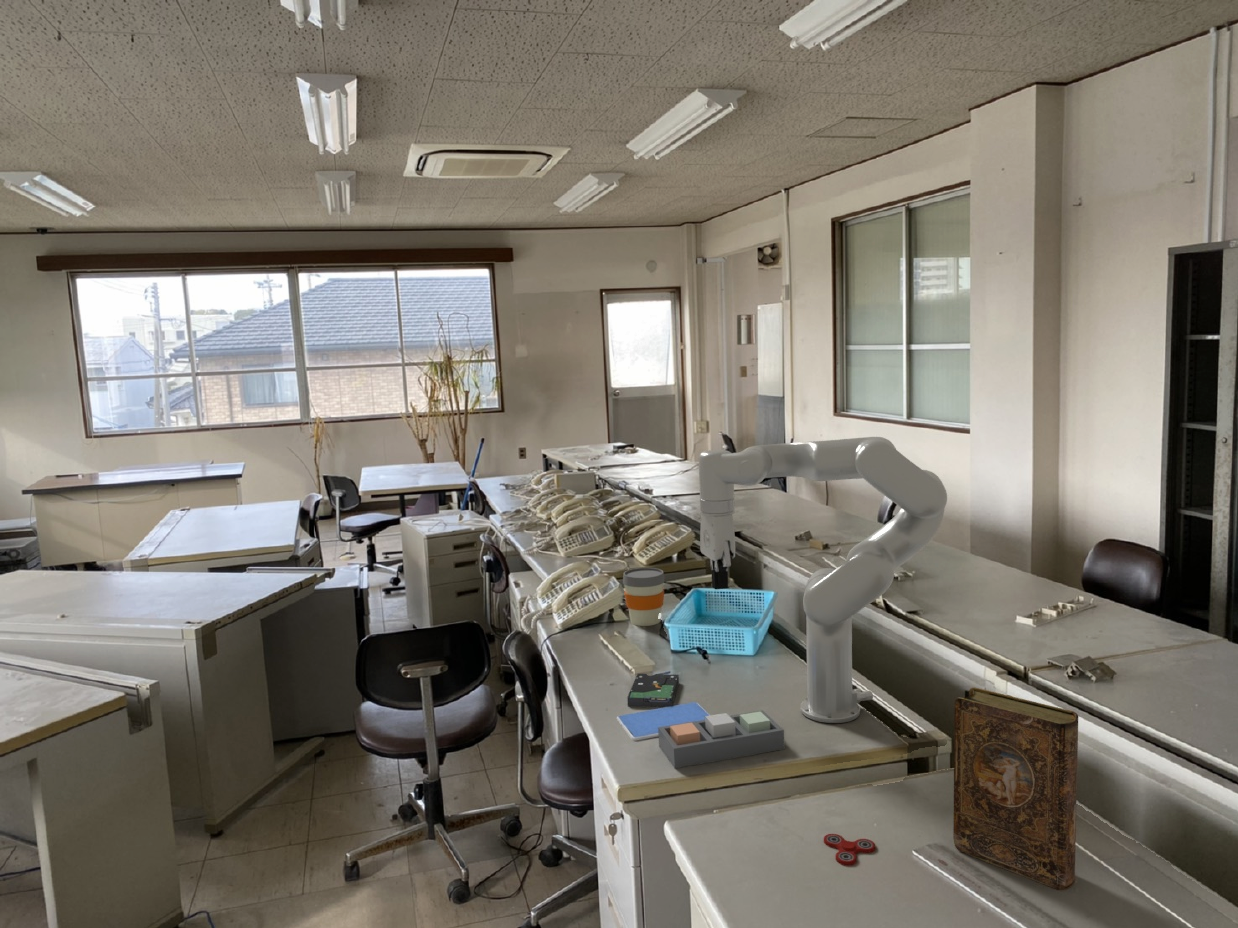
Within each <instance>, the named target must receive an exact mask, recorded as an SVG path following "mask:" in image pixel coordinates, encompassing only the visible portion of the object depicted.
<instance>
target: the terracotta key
mask: <svg viewBox="0 0 1238 928" xmlns="http://www.w3.org/2000/svg"><path fill="white" fill-rule="evenodd" d="M670 736H671V738H672V739H673V741H674V742H675V743H676V745H677V746H678V745H684V744H690V743H695V742H700V732H699V731H698V729H697V728H696V727H695V726H694V725H693V723H686V724H680V725H674V726H670Z"/></svg>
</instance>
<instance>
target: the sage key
mask: <svg viewBox="0 0 1238 928" xmlns="http://www.w3.org/2000/svg"><path fill="white" fill-rule="evenodd" d="M753 712H754V713H750V712H747V713H748V714H743V713H741V714H742V715H740V725H741V726H742V727H743V728H744V730H745V731H746V732H747V733H748V734H749V733H755V732H760V731H766V730H770V720H769V719H768V718H767V717H766V716H765V715H764V714H763V713H762V712H756V711H753Z"/></svg>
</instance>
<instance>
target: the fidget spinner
mask: <svg viewBox="0 0 1238 928" xmlns="http://www.w3.org/2000/svg"><path fill="white" fill-rule="evenodd" d="M823 843H824V844H825V845H826V846H827V847H829V848H833V849H836V850H837V852H836V853H835V861H836V862H837V863H838V864H840V865H843V866H848V867H849V866H853V865H856V864H857V861H858V860H857V859H858V857H857V854H872V853H874V852H875V851H876V850H877V849H876V843H875V842H874V841H872V840H871V839H867V838H860V839H859V838H858V839H857V840H854V841H853V840H852V841H850V840H846V839H845V838H844V837H843V836H842V835H840V834H836V833H828V834H826V835H824V837H823Z"/></svg>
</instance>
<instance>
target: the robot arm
mask: <svg viewBox="0 0 1238 928" xmlns="http://www.w3.org/2000/svg"><path fill="white" fill-rule="evenodd" d="M698 475H699V476H698V477H699V478H698V479H699V482H698V483H699V505H700V506H699V508H700V509H699V510H700V511H699V512H700V515H701V516H700V534H699V538H700V539H699V540H700V541H699V547H700V548H699V549H700V552H701V554H702V555H704V556H705V557H707V558H709V561H710V569H711V587H712V588H713V589H714V590H723V589H728V588H729V580H728V579H729V577H728V576H729V574H728V573H729V572H728V571H729V567H731V565H732V563H731V560H733V559H734V558H735V557H736V537H735V536H736V535H735V525H734V524H735V523H734V514H735V513H736V507H735V485H739V486H748V487H749V486H755V485H758V484H760V483H762V482H763V480H764V479H771V478H782V477H783V478H784V477H787V478H790V477H792V478H794V477H796V478H797V477H798V478H804V479H806V480H810V481H812V482H829V481H831V482H832V481H839V480H841V481H844V480H858V479H863V480H865V482H867V483H868V484H869V485H871V486H872V487H873V488H874V489H876V490H877V491H878V492H879V493H880V494H881V495H883V496H885V497H886V498H887V499H889V500H890V501H891V502H893V503H894V504H895V505H896V506H897V507H900V509H899V511H898V512H897V513H896V514H895V515H894V517H892V519H890V520H888V521H887V522H886V523H885V524H884V525H882V527H880V528H879V529H877V530H876V531H874V532H873V533H872V534H870V535H868V536H867V537H866V538H865V539H863V540H862V541H860V542H859V543H857V544H856V545H854V546H853V547H852V548H851V549H850V550H849V551H848V554H847V556H846V559H845V562H842V564H840V565H839V566H837V567H836V568H829V567H826V568H825V567H824V568H820V569H818V570H816V571H815V572H814V573H812V574H811V576H809V578H808V579H807V582H806V584H805V589H804V592H803V593H804V594H803V597H802V601H803V602H802V604H803V605H802V607H803V611H804V613H805V615H806V617H805V619H806V621H805V622H806V635H805V636H806V684H807V685H806V686H807V687H806V688H807V690H806V691H807V692H806V693H807V698H805V699H804V700H802V702H801V703H800V711H801V712H800V713H801V714H802V715H804V716H805V717H806V718H808V719H810V720H813V721H815V722H819V723H826V724H843V723H847V722H851V721H854V720H855V719H857V718H858V717H859V716H860V714H861V707H860V705H859V704H860V703H861V701H871V700H873V699H874V694H873V691H871V690H866V691H865V690H864V691H862V690H861V688H854V689H853V652H852V651H853V650H852V649H853V648H852V647H853V646H852V644H853V633H852V632H853V626H852V624H853V623H852V622H853V621H852V617H853V616H854V615H856V614H857V613H859V612H860V611H861V610H863V609H865V608H866V607H867V606H869V605H870V604H871V603H873V602H874V601H876V600H877V599H879V598H880V597H882V595H883V594H884V593H886V592H887V590H888V589H889V588H890V586H891V585H892V583H893V582H894V577H895V571H896V570H897V569H899V567H901V566H903V564H904V563H907V562H908V561H909V560H910V559H911V558H913V557H914V556H915V555H916V554H918V553H919V552H920V551H922V550H923V549H924V548H925V547H926V546H927V545H929V543H930V542H931V541H932V540H933V539H934V537H935V536H936V534H937V533H938V531H939V529H940V527H941V524H942V522H943V517H944V513H945V508H946V506H947V502H948V493H947V490H946V488H945V485H944V483H943V482H942V480H941V479H940V477H939V476H938V475H937V474H936V473H935V472H933V471H930V470H927V469H922V468H921V467H919V466H918V465H916V464H915V463H914V462H912V461H911V460H910V459H908V457H906V456H905V455H903V454H902V453H901V452H900V451H898V449H897V448H896V446H895V444H893V443H892V441H891V440H889V439H887V438H886V437H881V436H866V437H853V438H844V439H830V440H829V439H827V440H817V441H805V442H804V441H803V442H787V443H786V442H785V443H776V444H775V443H774V444H773V443H772V444H761V445H760V444H759V445H752V446H749V447H747V448H745V449H743V450H741V451H740V452H733V453H732V452H731V451H729V450H725V449H710V450H709V449H708V450H704V451H702V452H700V454H699V455H698Z"/></svg>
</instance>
